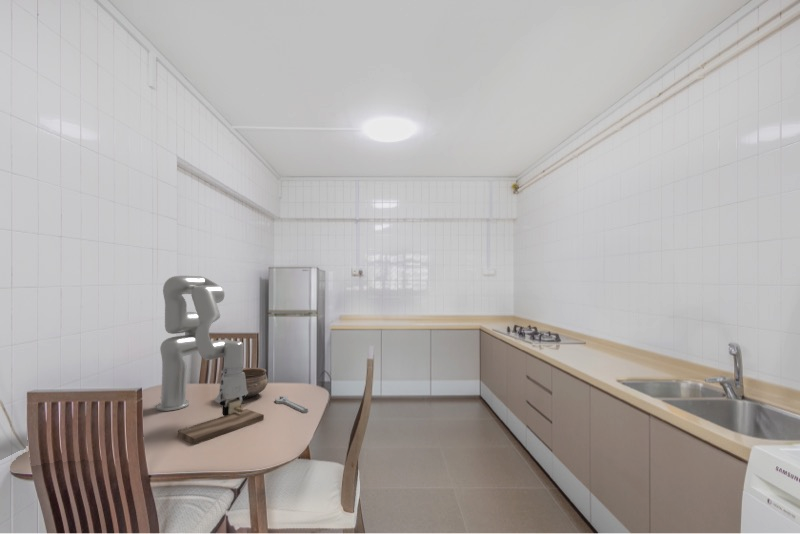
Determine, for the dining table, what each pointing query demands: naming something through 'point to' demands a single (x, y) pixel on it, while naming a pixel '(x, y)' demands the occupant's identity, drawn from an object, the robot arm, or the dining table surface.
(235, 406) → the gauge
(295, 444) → the dining table surface
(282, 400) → the adjustable wrench
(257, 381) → the cooking pot
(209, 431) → the board
